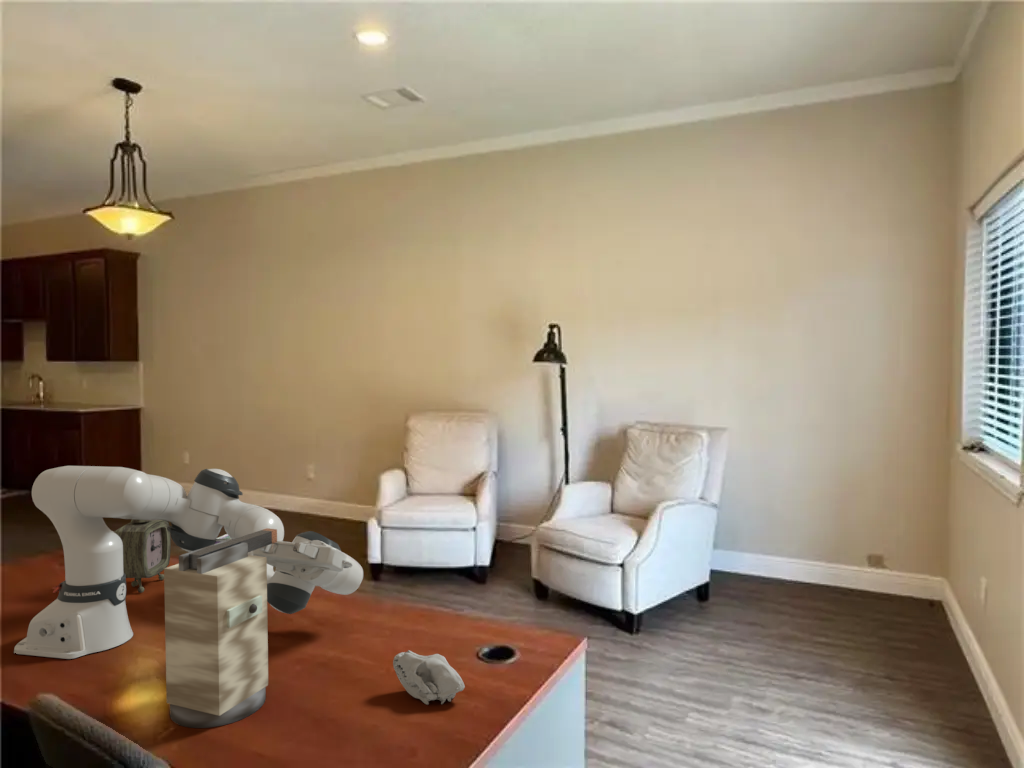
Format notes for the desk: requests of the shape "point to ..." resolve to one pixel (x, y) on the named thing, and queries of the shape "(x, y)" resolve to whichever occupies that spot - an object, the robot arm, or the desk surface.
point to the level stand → (216, 637)
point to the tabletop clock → (145, 549)
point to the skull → (427, 676)
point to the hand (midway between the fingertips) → (277, 544)
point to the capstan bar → (253, 540)
